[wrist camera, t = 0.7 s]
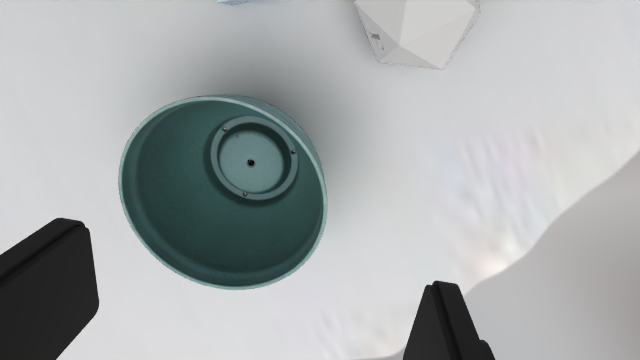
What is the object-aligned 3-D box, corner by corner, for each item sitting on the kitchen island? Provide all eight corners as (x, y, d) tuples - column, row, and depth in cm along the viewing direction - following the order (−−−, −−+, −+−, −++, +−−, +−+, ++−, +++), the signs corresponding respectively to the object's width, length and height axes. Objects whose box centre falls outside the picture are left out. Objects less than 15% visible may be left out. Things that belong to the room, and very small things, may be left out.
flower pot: (164, 80, 36) (90, 101, 26) (330, 73, 34) (321, 92, 24) (194, 226, 42) (144, 288, 32) (336, 225, 40) (331, 291, 30)
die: (369, -59, 30) (320, 2, 25) (485, -106, 25) (453, -39, 20) (399, 33, 36) (364, 100, 31) (500, 11, 30) (478, 87, 25)
